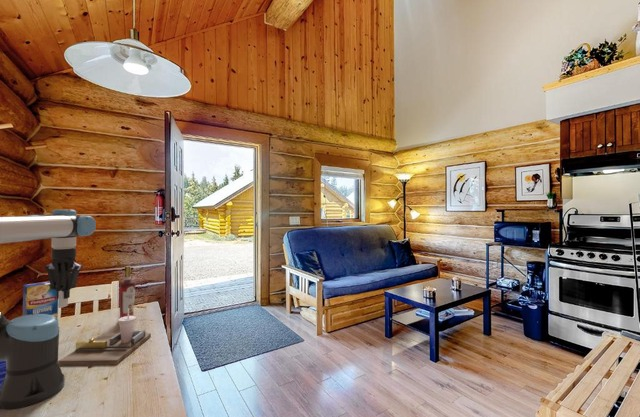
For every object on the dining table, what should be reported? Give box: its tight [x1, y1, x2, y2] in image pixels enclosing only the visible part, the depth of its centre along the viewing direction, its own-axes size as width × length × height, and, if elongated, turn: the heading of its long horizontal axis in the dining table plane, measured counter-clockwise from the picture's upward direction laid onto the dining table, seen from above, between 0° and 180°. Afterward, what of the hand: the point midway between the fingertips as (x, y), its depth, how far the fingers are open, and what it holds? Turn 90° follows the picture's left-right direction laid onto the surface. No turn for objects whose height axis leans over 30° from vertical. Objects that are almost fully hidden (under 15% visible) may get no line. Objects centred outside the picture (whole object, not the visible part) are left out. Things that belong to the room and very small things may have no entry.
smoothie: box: [117, 308, 137, 343], centre depth 125 cm, size 6×6×14 cm
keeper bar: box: [75, 337, 107, 350], centre depth 117 cm, size 2×11×4 cm, turn 93°
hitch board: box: [58, 332, 152, 366], centre depth 121 cm, size 24×21×2 cm
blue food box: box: [22, 280, 59, 320], centre depth 138 cm, size 7×11×22 cm, turn 146°
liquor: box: [118, 265, 137, 320], centre depth 153 cm, size 7×7×28 cm
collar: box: [109, 329, 146, 345], centre depth 126 cm, size 9×10×2 cm
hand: (63, 306), depth 117 cm, fingers closed
